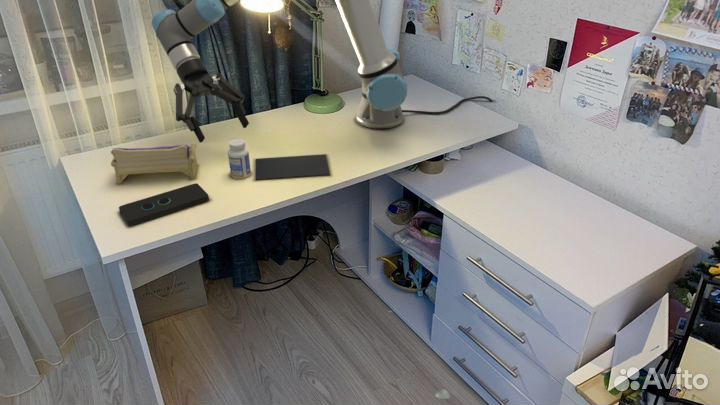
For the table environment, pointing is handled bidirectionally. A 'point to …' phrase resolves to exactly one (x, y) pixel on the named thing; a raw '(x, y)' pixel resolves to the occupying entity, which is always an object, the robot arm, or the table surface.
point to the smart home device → (163, 204)
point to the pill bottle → (239, 159)
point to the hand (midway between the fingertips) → (225, 133)
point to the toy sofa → (154, 160)
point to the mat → (291, 167)
